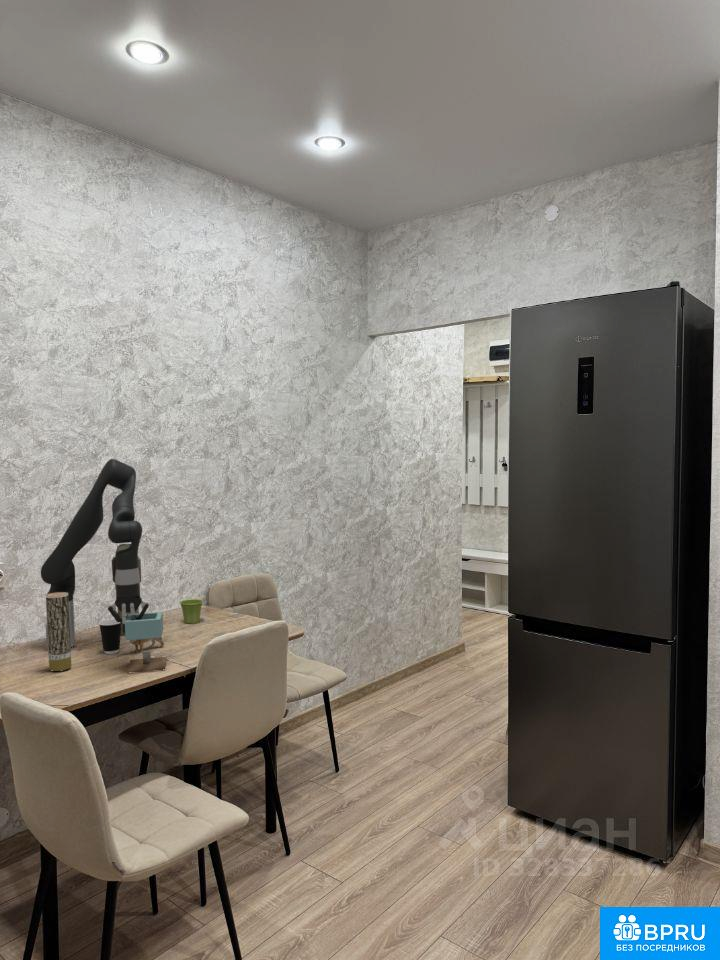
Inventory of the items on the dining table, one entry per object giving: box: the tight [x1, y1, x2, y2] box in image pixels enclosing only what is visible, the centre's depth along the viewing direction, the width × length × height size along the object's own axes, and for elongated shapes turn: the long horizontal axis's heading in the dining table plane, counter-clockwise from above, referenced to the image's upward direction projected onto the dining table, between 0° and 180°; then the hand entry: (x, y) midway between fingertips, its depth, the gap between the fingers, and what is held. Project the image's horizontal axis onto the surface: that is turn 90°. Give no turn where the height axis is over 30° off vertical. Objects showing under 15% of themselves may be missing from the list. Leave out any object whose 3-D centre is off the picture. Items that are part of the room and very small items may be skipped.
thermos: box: [111, 543, 142, 637], centre depth 276 cm, size 9×12×35 cm
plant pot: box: [179, 598, 204, 624], centre depth 291 cm, size 9×9×9 cm
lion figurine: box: [128, 636, 165, 654], centre depth 253 cm, size 15×5×9 cm, turn 144°
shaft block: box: [125, 651, 168, 674], centre depth 233 cm, size 12×12×4 cm
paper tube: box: [45, 592, 72, 672], centre depth 232 cm, size 7×7×25 cm
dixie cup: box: [98, 618, 121, 655], centre depth 251 cm, size 8×8×11 cm
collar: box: [124, 611, 164, 641], centre depth 233 cm, size 11×11×6 cm
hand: (129, 633), depth 232 cm, fingers closed on collar, 1 cm apart
